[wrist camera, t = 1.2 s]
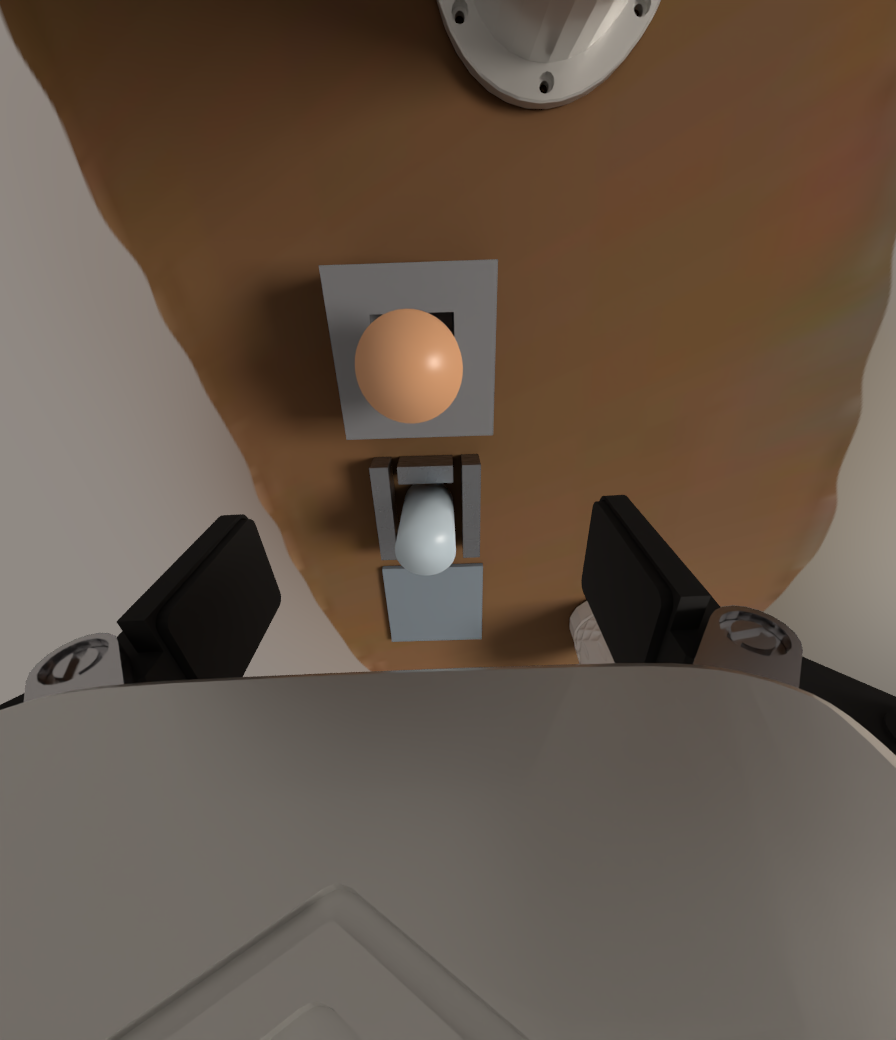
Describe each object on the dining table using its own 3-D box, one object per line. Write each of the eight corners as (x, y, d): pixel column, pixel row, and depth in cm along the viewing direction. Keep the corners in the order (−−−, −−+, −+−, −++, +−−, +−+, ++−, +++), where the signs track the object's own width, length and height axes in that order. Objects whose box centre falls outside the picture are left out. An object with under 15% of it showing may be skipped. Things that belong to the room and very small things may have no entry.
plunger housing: (342, 272, 27) (318, 265, 22) (487, 267, 27) (497, 259, 22) (362, 416, 32) (346, 439, 27) (484, 412, 32) (493, 435, 27)
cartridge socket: (373, 457, 34) (368, 468, 31) (478, 454, 34) (480, 464, 31) (385, 545, 38) (381, 560, 36) (477, 542, 38) (479, 557, 36)
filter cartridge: (402, 480, 35) (392, 525, 28) (452, 478, 35) (455, 523, 28) (406, 524, 37) (397, 576, 30) (453, 522, 37) (456, 574, 30)
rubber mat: (382, 566, 39) (382, 569, 39) (482, 563, 39) (482, 566, 39) (392, 638, 44) (392, 641, 44) (481, 635, 44) (481, 639, 44)
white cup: (611, 650, 46) (651, 733, 37) (550, 635, 44) (577, 717, 36) (650, 601, 42) (704, 680, 33) (585, 582, 41) (623, 659, 32)
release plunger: (369, 308, 25) (346, 310, 19) (457, 305, 25) (462, 306, 19) (379, 399, 27) (362, 425, 22) (459, 396, 27) (463, 421, 22)
